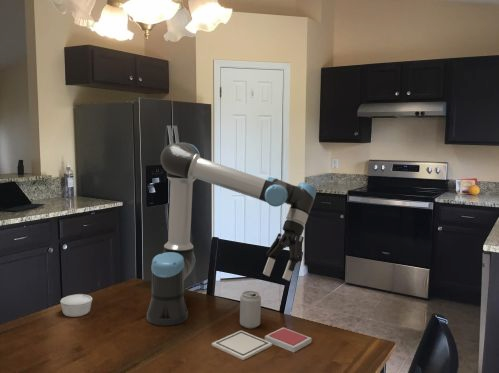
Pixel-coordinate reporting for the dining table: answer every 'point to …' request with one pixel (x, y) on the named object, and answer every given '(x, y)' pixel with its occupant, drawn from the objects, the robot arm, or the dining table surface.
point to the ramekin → (76, 305)
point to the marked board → (242, 344)
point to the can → (250, 309)
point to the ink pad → (288, 339)
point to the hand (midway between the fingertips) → (275, 277)
